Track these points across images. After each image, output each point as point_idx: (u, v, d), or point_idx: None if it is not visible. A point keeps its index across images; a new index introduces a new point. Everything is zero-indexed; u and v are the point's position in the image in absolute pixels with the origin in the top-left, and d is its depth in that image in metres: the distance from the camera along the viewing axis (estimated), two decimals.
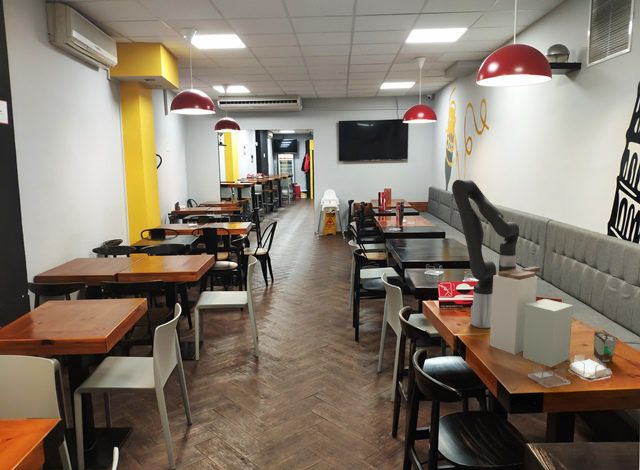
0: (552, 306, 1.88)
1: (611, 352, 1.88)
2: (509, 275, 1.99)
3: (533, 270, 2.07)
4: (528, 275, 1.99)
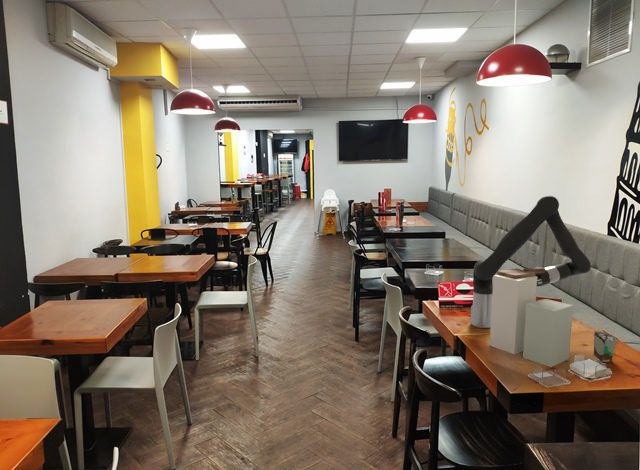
0: (552, 306, 1.88)
1: (611, 352, 1.88)
2: (506, 274, 2.01)
3: (536, 270, 2.06)
4: (526, 275, 1.99)
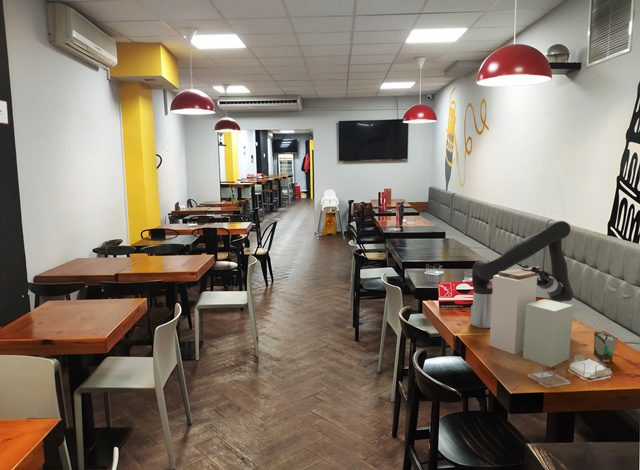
0: (552, 306, 1.88)
1: (611, 352, 1.88)
2: (509, 275, 1.99)
3: None
4: (528, 275, 1.99)
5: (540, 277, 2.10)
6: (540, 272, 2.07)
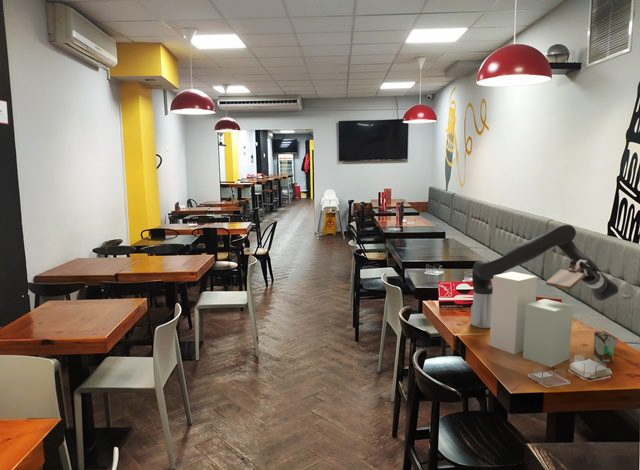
0: (552, 306, 1.88)
1: (611, 352, 1.88)
2: (558, 285, 1.92)
3: None
4: (578, 280, 1.92)
5: (587, 273, 2.01)
6: (588, 267, 1.99)
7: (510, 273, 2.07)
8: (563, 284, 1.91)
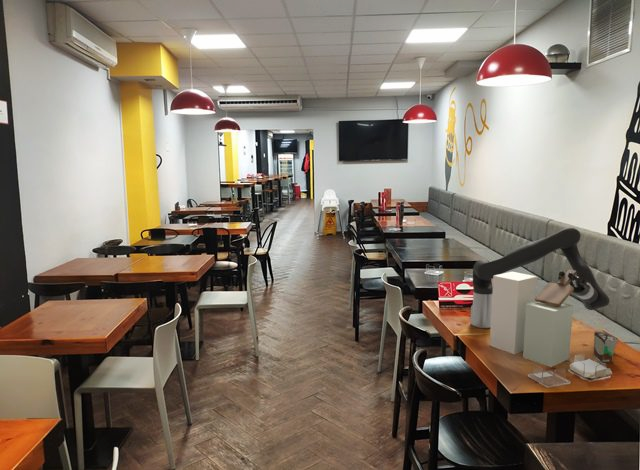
0: (552, 306, 1.88)
1: (611, 352, 1.88)
2: (547, 302, 1.88)
3: (570, 279, 1.95)
4: (567, 295, 1.88)
5: (576, 284, 1.97)
6: (577, 279, 1.94)
7: (510, 273, 2.07)
8: (552, 301, 1.87)
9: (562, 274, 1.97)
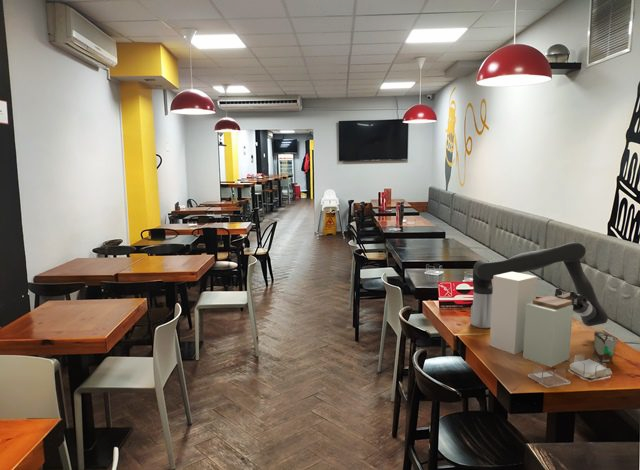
0: None
1: (611, 352, 1.88)
2: (545, 304, 1.88)
3: (569, 297, 1.96)
4: (565, 304, 1.88)
5: (576, 302, 1.98)
6: (579, 297, 1.95)
7: (510, 273, 2.07)
8: (550, 303, 1.87)
9: (558, 291, 1.99)
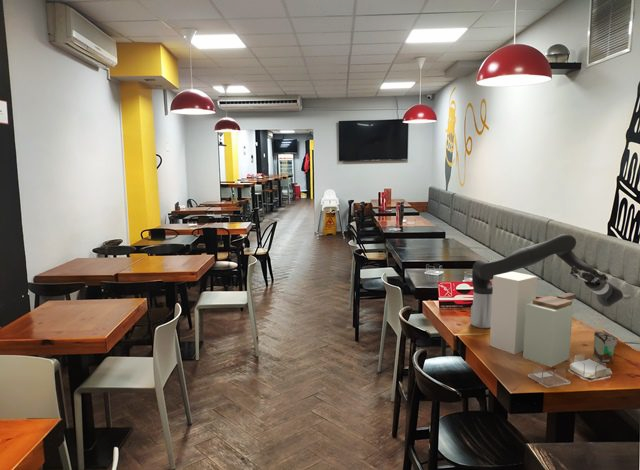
0: None
1: (611, 352, 1.88)
2: (545, 304, 1.88)
3: (569, 297, 1.96)
4: (565, 304, 1.88)
5: None
6: (600, 276, 2.00)
7: (510, 273, 2.07)
8: (550, 303, 1.87)
9: (574, 269, 2.07)
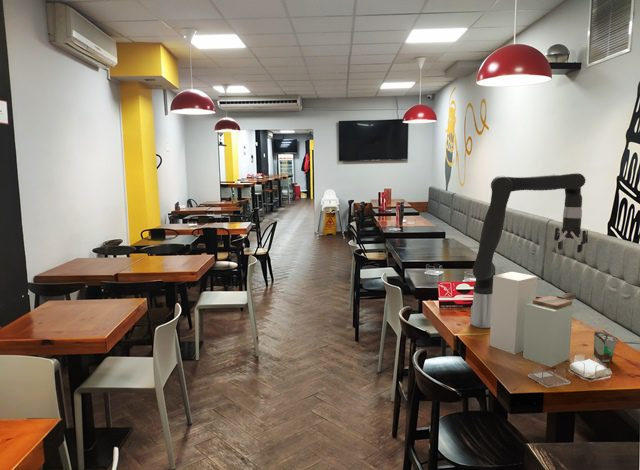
0: None
1: (611, 352, 1.88)
2: (545, 304, 1.88)
3: (569, 297, 1.96)
4: (565, 304, 1.88)
5: (579, 236, 2.14)
6: None
7: (510, 273, 2.07)
8: (550, 303, 1.87)
9: (561, 247, 2.20)
